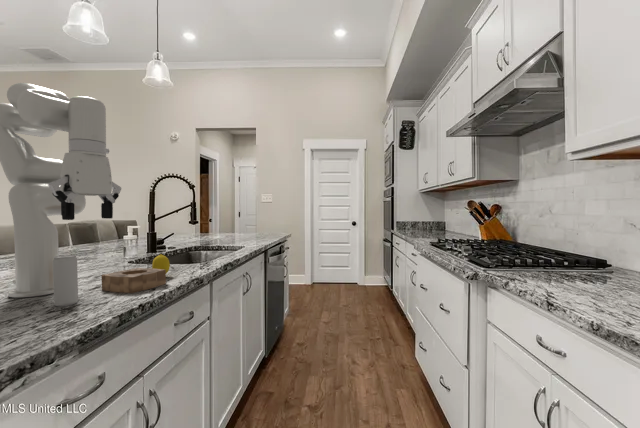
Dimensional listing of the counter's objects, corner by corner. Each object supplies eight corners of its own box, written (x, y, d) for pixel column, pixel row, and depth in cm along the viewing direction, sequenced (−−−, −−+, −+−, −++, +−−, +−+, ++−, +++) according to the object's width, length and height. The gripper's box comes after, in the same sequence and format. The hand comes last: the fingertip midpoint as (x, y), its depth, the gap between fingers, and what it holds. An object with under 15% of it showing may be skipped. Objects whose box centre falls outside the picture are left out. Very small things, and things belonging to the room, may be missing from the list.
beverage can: (64, 307, 78) (63, 257, 78) (48, 306, 79) (47, 257, 79) (83, 301, 83) (81, 255, 83) (67, 301, 84) (66, 254, 84)
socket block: (98, 290, 95) (98, 275, 95) (137, 281, 107) (137, 267, 107) (132, 293, 91) (132, 277, 90) (168, 283, 103) (168, 269, 103)
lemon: (173, 275, 115) (172, 253, 115) (162, 279, 110) (162, 255, 110) (160, 275, 117) (159, 253, 117) (148, 278, 111) (148, 255, 111)
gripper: (109, 155, 89) (109, 217, 90) (37, 144, 73) (38, 220, 73) (130, 154, 87) (130, 218, 88) (61, 142, 71) (62, 220, 71)
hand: (88, 219), depth 80 cm, fingers open, 9 cm apart
